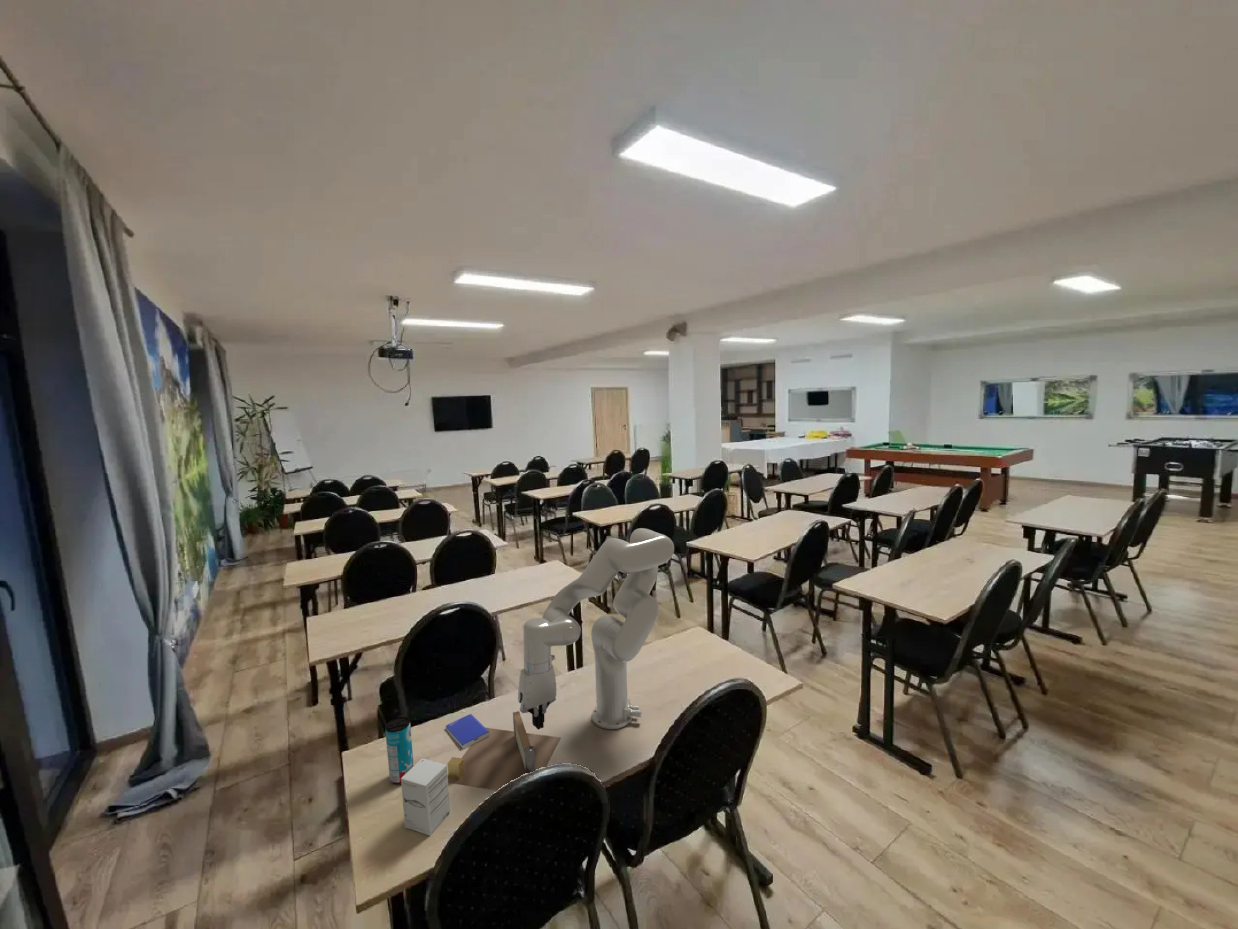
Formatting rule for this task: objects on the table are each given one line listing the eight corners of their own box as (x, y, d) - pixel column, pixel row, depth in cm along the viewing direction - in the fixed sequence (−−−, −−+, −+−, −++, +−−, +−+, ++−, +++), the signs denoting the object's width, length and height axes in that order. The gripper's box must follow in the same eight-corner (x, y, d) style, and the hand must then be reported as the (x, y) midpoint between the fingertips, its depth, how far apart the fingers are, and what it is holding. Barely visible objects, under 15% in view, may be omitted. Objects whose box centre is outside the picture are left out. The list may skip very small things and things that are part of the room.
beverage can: (413, 782, 129) (408, 728, 128) (388, 788, 128) (383, 733, 126) (415, 766, 135) (411, 714, 133) (391, 772, 133) (386, 719, 132)
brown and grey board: (533, 773, 130) (531, 749, 129) (526, 775, 129) (524, 751, 128) (520, 732, 146) (519, 711, 145) (514, 734, 146) (512, 712, 145)
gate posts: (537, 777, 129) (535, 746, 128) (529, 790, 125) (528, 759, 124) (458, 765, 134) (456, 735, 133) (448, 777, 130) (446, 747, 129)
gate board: (561, 739, 144) (561, 737, 144) (530, 798, 123) (530, 795, 123) (485, 729, 150) (484, 727, 150) (443, 783, 129) (443, 781, 128)
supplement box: (403, 828, 115) (399, 778, 114) (426, 804, 122) (422, 756, 120) (429, 837, 112) (425, 786, 111) (451, 812, 119) (447, 763, 118)
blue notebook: (445, 725, 150) (462, 744, 140) (471, 713, 155) (489, 730, 145) (445, 730, 150) (463, 749, 140) (471, 718, 155) (489, 735, 146)
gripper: (554, 651, 147) (555, 710, 149) (506, 666, 138) (508, 729, 140) (567, 661, 141) (568, 723, 143) (518, 678, 132) (519, 743, 134)
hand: (538, 726), depth 141 cm, fingers closed
